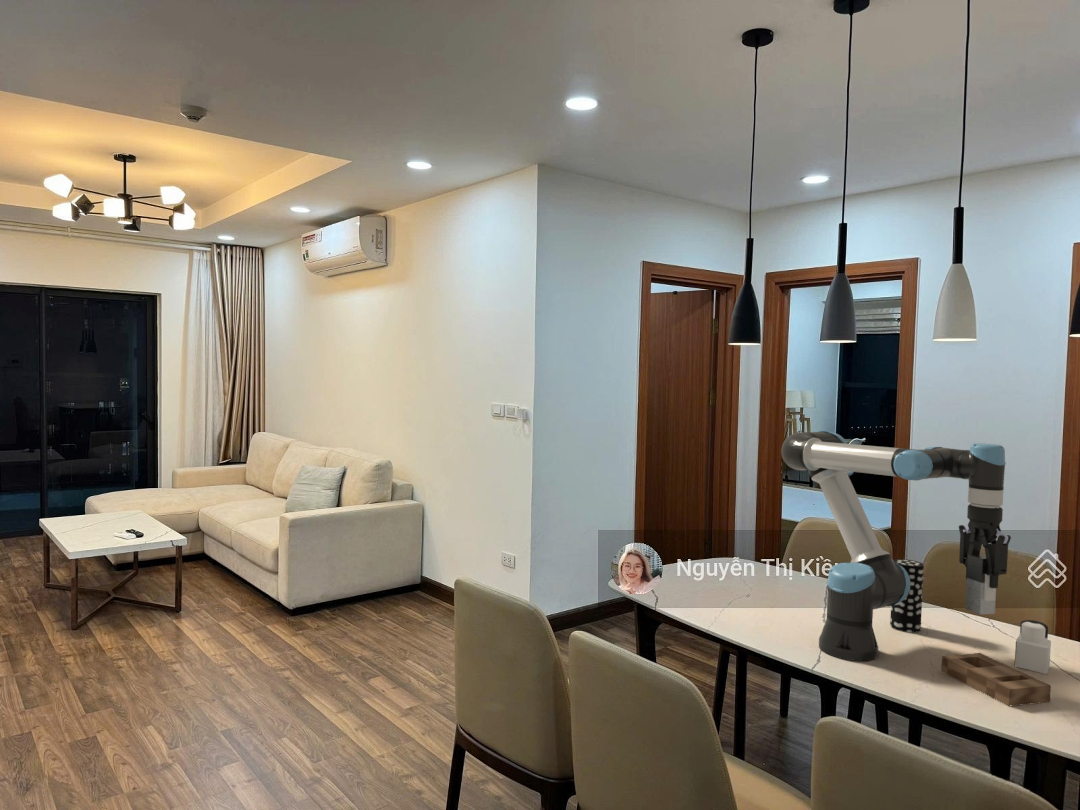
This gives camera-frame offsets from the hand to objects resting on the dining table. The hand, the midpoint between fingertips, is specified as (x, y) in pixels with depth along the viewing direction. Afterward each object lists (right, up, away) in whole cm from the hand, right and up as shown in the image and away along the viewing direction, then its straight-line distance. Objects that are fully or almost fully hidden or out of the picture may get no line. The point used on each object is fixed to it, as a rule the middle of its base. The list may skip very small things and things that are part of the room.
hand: (980, 596), depth 182 cm
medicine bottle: (+19, -21, +9) cm, 30 cm away
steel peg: (0, -4, 0) cm, 4 cm away
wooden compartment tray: (+1, -21, -4) cm, 21 cm away
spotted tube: (0, -19, +37) cm, 42 cm away
